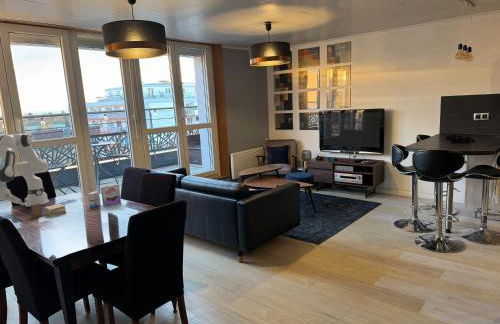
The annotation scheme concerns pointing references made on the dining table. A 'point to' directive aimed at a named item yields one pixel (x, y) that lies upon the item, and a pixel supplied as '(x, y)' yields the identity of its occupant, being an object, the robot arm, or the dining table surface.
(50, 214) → the beech block
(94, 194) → the ink box
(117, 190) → the candy box
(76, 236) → the dining table surface
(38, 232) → the dining table surface
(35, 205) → the walnut pillar
